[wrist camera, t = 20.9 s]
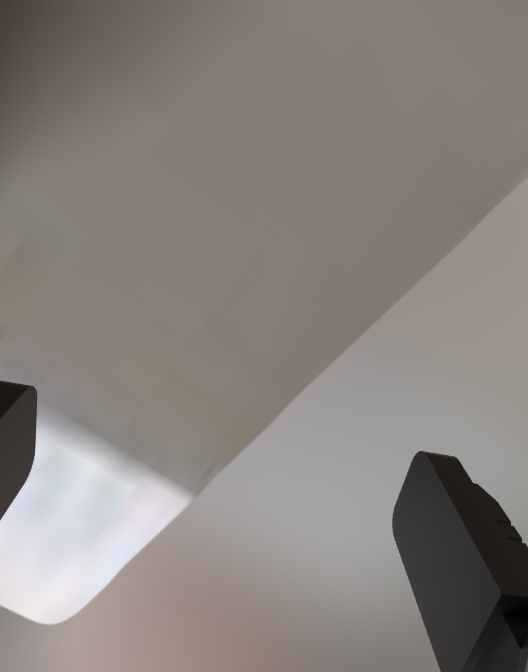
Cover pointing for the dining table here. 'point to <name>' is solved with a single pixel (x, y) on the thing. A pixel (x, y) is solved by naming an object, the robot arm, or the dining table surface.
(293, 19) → the dining table surface
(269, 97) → the dining table surface
